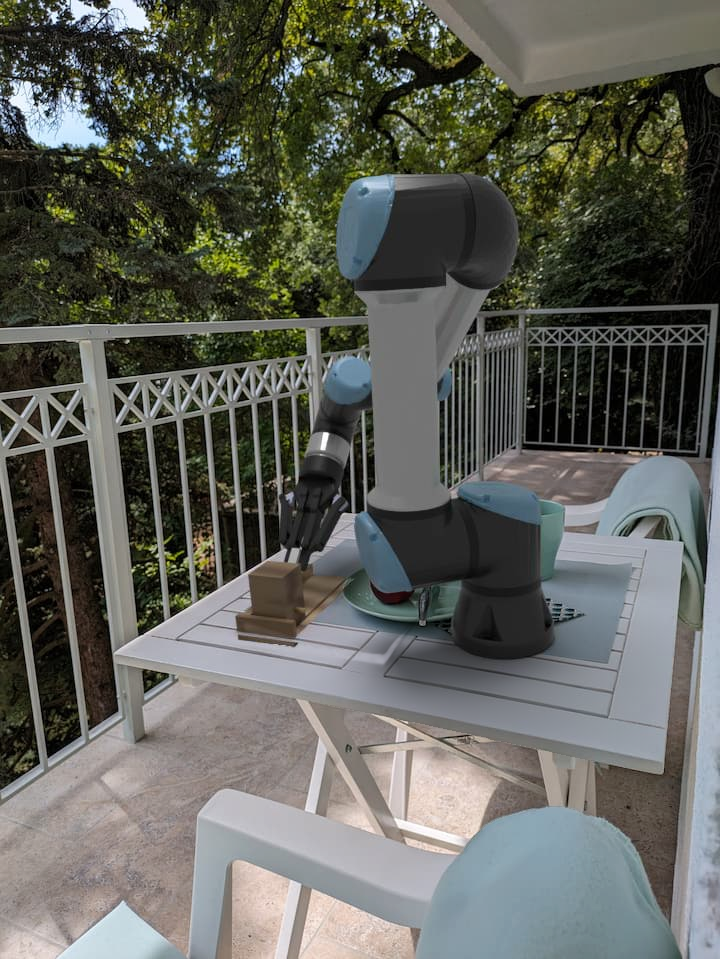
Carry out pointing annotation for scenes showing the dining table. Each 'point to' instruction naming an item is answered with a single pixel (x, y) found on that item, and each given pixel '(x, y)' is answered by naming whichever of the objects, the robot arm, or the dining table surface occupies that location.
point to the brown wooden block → (277, 591)
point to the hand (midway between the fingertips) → (288, 587)
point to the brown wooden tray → (316, 599)
